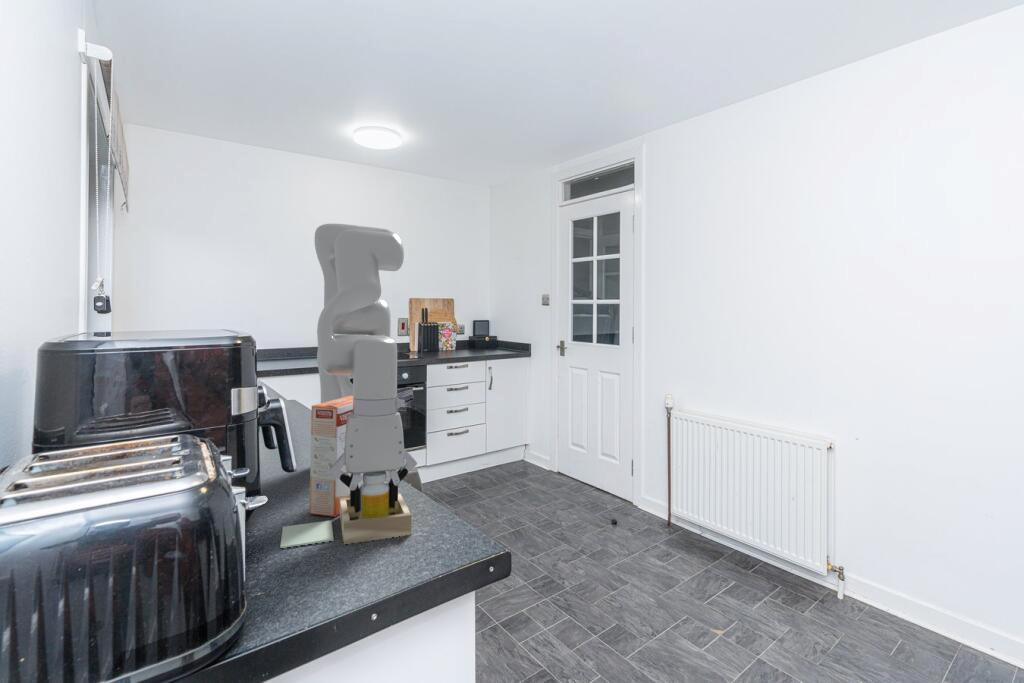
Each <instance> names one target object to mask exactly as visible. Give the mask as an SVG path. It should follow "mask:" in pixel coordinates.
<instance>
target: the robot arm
mask: <svg viewBox="0 0 1024 683" xmlns="http://www.w3.org/2000/svg"><path fill="white" fill-rule="evenodd" d="M314 248H315V253H316V257H317V260H318V262H319V265H320V268H321V272H322V274H323V282H324V286H323V287H324V288H323V292H324V293H323V308H322V310H321V312H320V315H319V317H318V321H317V329H316V335H317V336H316V338H317V353H316V361H317V363H316V364H317V367H318V375H319V383H320V403H324V402H328V401H332V400H336V399H340V398H343V397H347V396H353V414H350V415H348V419H347V425H346V432H345V445H344V453H343V454H342V455H341V456H340V457H339V459H338V460H337V461H336V462H335V463H334V464H333V465H332V467H331V468H330V473H331V474H332V475H334V476H335V477H336V478H338V479H340V480H341V481H342V482H343V483H344V484H345V485H346V486H347V487H349V488H350V506H351V507H353V506H354V510H355V513H357V512H359V511H360V490H359V487H358V482H359V479H360V476H361V473H371V472H381V471H385V472H388V473H389V476H390V480H388V482H387V483H388V485H389V487H390V503H389V504H390V507H391V508H395V501H398V492H399V485H400V484H401V482H402V481H403V480H404V478H405V477H406V476H407V475H408V474H409V473H410V472H412V470H413V469H414V468H415V467H416V466H417V465H418V461H416V459H415V458H414V457H413V456H412V455H411V454H410V453H409V452H408V451H407V449H406V448H405V442H404V429H403V422H402V417H401V412H399V411H398V410H399V409H400V408H405V406H406V401H405V399H401V398H399V397H398V345H397V342H396V341H395V340H394V339H393V338H391V326H392V325H391V311H390V306H389V305H388V303H387V302H386V300H383V299H381V298H380V297H381V295H382V285H381V279H380V272H379V271H384V272H397V271H399V270H400V269H401V268H402V266H403V263H404V259H405V252H404V245H403V242H402V240H401V238H400V237H399V235H398V234H397V233H394V232H393V231H391V230H389V229H386V228H379V227H371V226H362V225H355V224H348V223H347V224H346V223H324V224H321V225H319V226H318V227H317V228H316V229H315V232H314ZM351 380H352V381H351ZM405 461H406V463H405ZM344 464H345V466H346V470H347V472H349V473H351V476H349V475H347V474H346V473H344V472H343V471H342V470H341V468H342V467H343V465H344Z"/></svg>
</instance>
